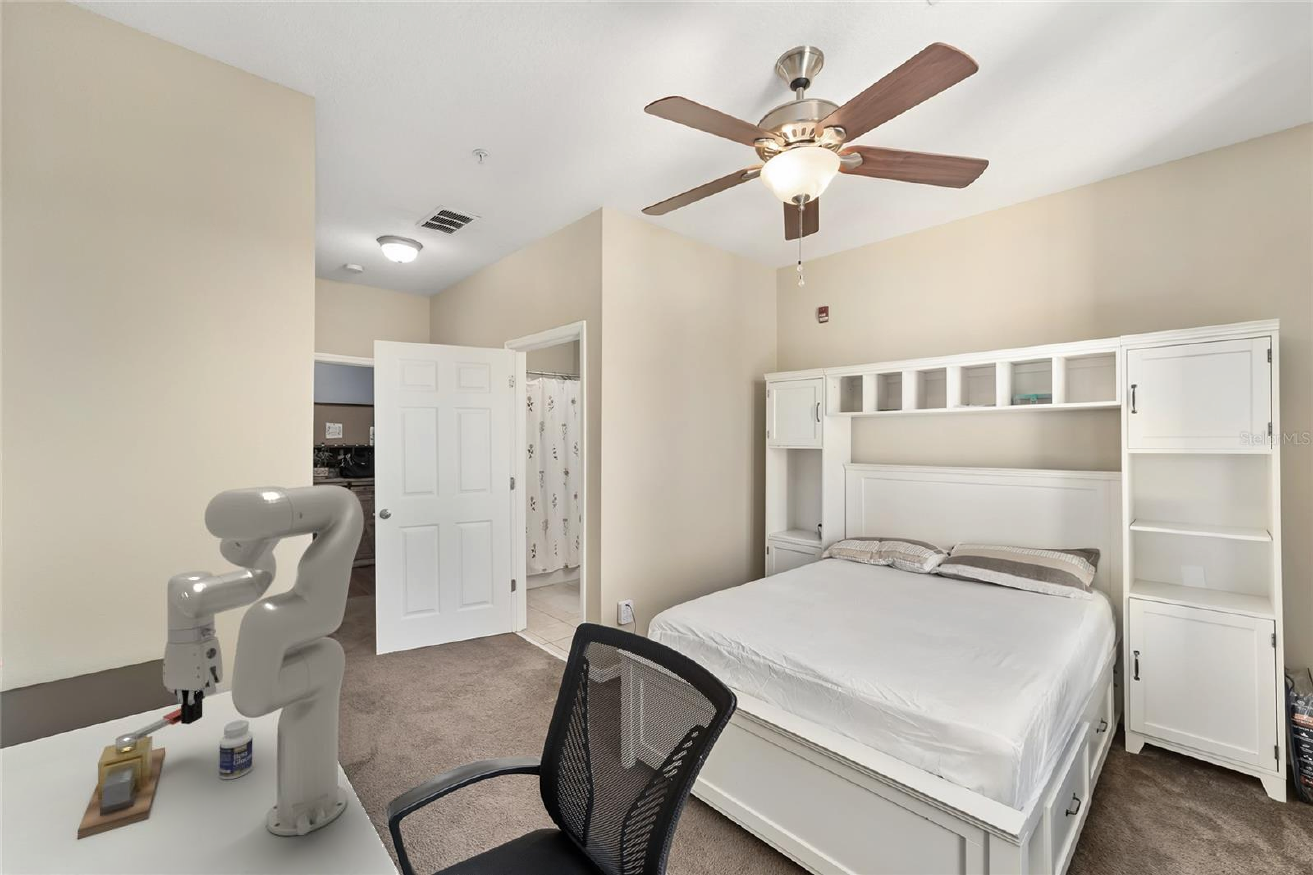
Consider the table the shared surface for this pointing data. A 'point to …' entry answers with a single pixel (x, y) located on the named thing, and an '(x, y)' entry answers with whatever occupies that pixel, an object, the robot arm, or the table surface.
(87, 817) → the mount board
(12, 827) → the table surface
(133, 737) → the lever
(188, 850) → the table surface
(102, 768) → the valve
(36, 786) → the table surface
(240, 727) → the pill bottle
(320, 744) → the robot arm
